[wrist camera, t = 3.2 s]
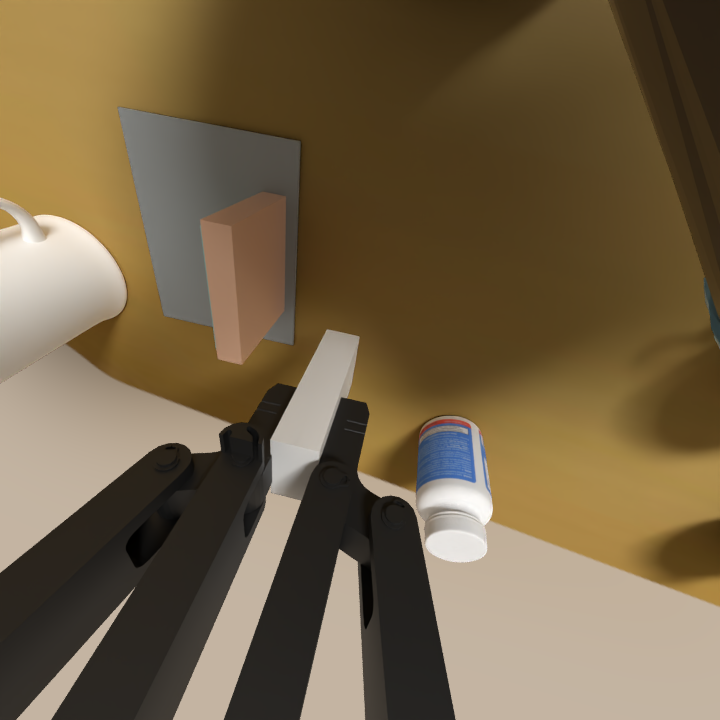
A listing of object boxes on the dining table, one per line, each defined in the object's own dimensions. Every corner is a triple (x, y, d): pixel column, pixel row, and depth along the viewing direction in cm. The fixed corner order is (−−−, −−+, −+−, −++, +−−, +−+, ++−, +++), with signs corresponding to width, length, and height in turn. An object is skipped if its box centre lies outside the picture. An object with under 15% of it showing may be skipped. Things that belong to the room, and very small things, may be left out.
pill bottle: (406, 434, 32) (395, 541, 24) (449, 403, 29) (452, 512, 21) (451, 464, 33) (455, 575, 25) (497, 437, 30) (517, 553, 22)
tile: (258, 190, 22) (193, 218, 16) (285, 196, 21) (231, 226, 16) (261, 305, 26) (213, 358, 21) (284, 310, 26) (241, 364, 21)
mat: (120, 107, 20) (117, 107, 20) (300, 141, 20) (299, 141, 20) (165, 314, 29) (163, 316, 29) (293, 344, 28) (292, 345, 28)
